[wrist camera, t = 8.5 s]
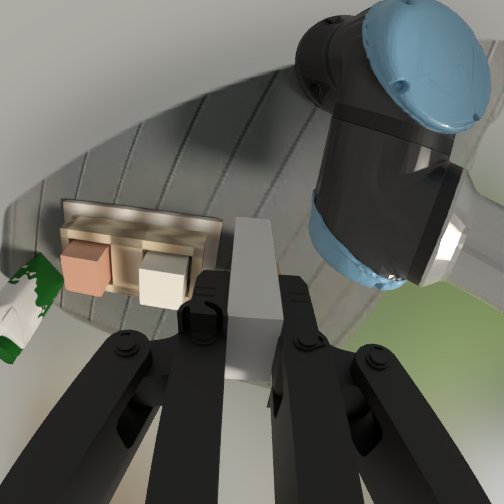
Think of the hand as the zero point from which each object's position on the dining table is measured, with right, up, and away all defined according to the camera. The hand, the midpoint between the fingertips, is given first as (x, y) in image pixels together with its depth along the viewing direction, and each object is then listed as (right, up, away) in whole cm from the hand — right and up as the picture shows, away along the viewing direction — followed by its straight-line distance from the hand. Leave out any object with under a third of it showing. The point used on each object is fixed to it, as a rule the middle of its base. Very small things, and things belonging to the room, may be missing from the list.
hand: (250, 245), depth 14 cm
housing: (-18, 0, +34) cm, 38 cm away
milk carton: (-40, -4, +36) cm, 53 cm away
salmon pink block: (-24, 0, +30) cm, 39 cm away
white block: (-12, -2, +32) cm, 34 cm away
